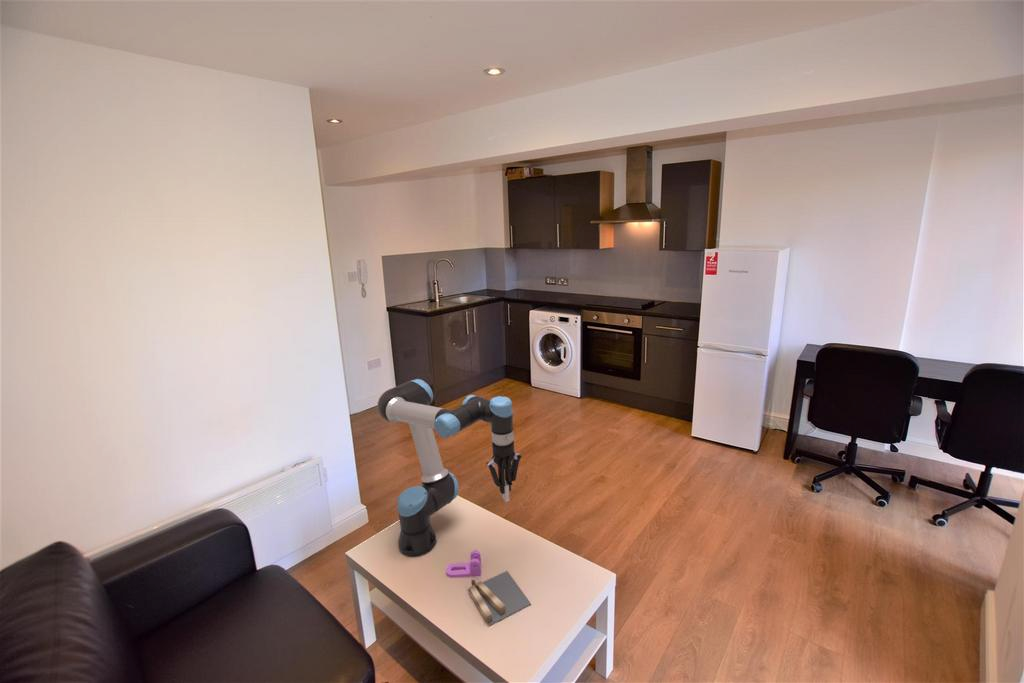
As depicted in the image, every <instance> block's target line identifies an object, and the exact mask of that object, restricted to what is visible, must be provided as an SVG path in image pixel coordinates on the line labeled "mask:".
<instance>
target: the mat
mask: <svg viewBox="0 0 1024 683" xmlns="http://www.w3.org/2000/svg"><path fill="white" fill-rule="evenodd" d="M481 582H482V583H483V584H484V585H485V586H486V587H487V588H488V589H489V590H490V591H491V592H492V593H493V594H494V595H495V596H496V597H497V598H498V599H499V600H500V601H501V602H502V603H503V604H504V605H505V610H506V611H505V612H504V613H503V614H500V613H499V612H498V611H497V610H496V609H495V608H494V607H493V606H492V605H491V604H490V603H489V602H488V601H487V600H486V599H485V598H484V597H483V596H482V595H481V594H480V593H479V594H480V595H481V597H482V599H483V600H484V602H485V604H486V605H487V607H488V608H489V610H490V612H491V613H492V621H490V622H488V623H487V622H486V623H487V625H488V627H491V626H494V625H495V624H497V623H498V622H501V621H502V620H505V619H506V618H508V617H510V616H512V615H514V614H516V613H518V612H521V611H522V610H525V609H526V608H528V607H530V606H532V603H531V601H530V600H529V599H528V597H527V596H526V594H525V593H524V592H523V591H522V588H520V587H519V586H520V585H518V584H517V582H516V581H515V579H514V578H513V576H512V575H511V574H510V572H509V571H508V570H506V571H504V572H502V573H499V574H497V575H495V576H493V577H490V578H488V579H487V580H485V581H481ZM467 591H468V592H469V588H468V589H467ZM478 592H479V591H478Z"/></svg>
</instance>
